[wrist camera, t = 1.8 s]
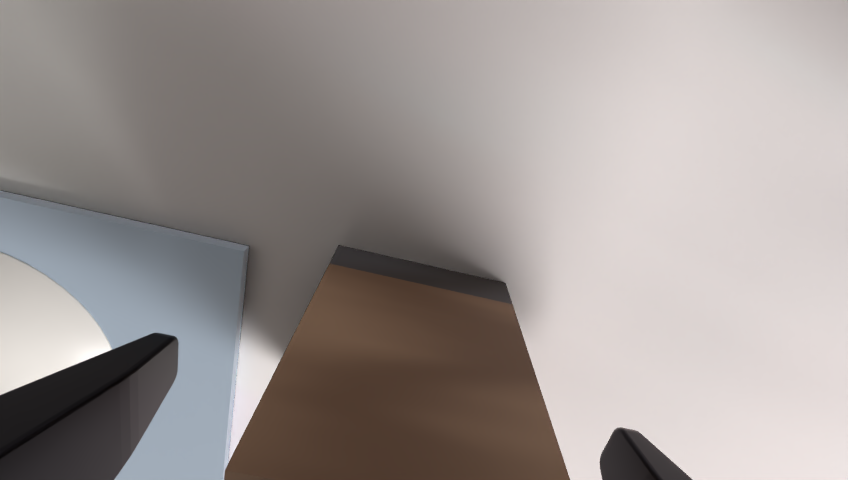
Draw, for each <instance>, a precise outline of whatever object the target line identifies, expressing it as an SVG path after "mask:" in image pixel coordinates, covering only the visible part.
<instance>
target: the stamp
mask: <svg viewBox="0 0 848 480" xmlns="http://www.w3.org/2000/svg"><path fill="white" fill-rule="evenodd" d="M224 480H570V478H569V475H568V472H567V469H566V466H565V463H564V460H563V457H562V454H561V451H560V448H559V445H558V442H557V439H556V436H555V433H554V430H553V427H552V424H551V420H550V417H549V414H548V411H547V408H546V405H545V402H544V399H543V396H542V393H541V390H540V387H539V384H538V381H537V378H536V375H535V372H534V369H533V366H532V363H531V360H530V357H529V354H528V350H527V347H526V344H525V341H524V338H523V335H522V332H521V329H520V326H519V323H518V320H517V317H516V314H515V311H514V308H513V305H512V302H511V299H510V296H509V293H508V290H507V287H506V284H505V283H503V282H499V281H495V280H490V279H486V278H481V277H477V276H472V275H468V274H464V273H459V272H455V271H450V270H446V269H442V268H437V267H433V266H428V265H424V264H419V263H415V262H411V261H406V260H402V259H397V258H393V257H389V256H384V255H380V254H375V253H371V252H366V251H362V250H358V249H353V248H349V247H344V246H340V245H339V246H338V248H337V250H336V252H335V254H334V256H333V258H332V260H331V262H330V264H329V266H328V268H327V270H326V271H325V273H324V275H323V277H322V279H321V281H320V283H319V285H318V287H317V289H316V291H315V293H314V295H313V297H312V299H311V301H310V303H309V305H308V307H307V309H306V311H305V313H304V315H303V317H302V319H301V321H300V323H299V325H298V327H297V329H296V331H295V333H294V335H293V337H292V339H291V341H290V343H289V345H288V347H287V349H286V351H285V353H284V355H283V357H282V358H281V360H280V362H279V364H278V366H277V368H276V370H275V372H274V374H273V376H272V378H271V380H270V382H269V384H268V386H267V388H266V390H265V392H264V394H263V396H262V398H261V400H260V402H259V404H258V406H257V408H256V410H255V412H254V414H253V416H252V418H251V420H250V422H249V424H248V426H247V428H246V430H245V432H244V434H243V436H242V438H241V440H240V442H239V444H238V445H237V447H236V449H235V451H234V453H233V455H232V457H231V459H230V461H229V463H228V465H227V467H226V469H225V475H224Z"/></svg>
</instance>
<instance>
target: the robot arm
mask: <svg viewBox="0 0 848 480" xmlns="http://www.w3.org/2000/svg"><path fill="white" fill-rule="evenodd" d="M178 348H179V343H178V339H177V337H175V336H172V335H168V334H163V333H152V334H149V335H147V336H144V337H142V338H139V339H137V340H134V341H132V342H129V343H127V344H124V345H122V346H120V347H117V348H115V349H112V350H110V351H107V352H105V353H102V354H100V355H97V356H95V357H92V358H90V359H87V360H85V361H83V362H80V363H78V364H75V365H73V366H70V367H68V368H65V369H63V370H60V371H58V372H55V373H53V374H51V375H48V376H46V377H43V378H41V379H38V380H36V381H33V382H31V383H28V384H26V385H23V386H21V387H18V388H16V389H14V390H11V391H9V392H6V393H4V394H1V395H0V480H114V479H115V478H116V477H117V475H118V474H119V472H120V471H121V470H122V468H123V467H124V465H125V464H126V462H127V461H128V460H129V458H130V457H131V455H132V453H133V452H134V450H135V449H136V447H137V445H138V444H139V442H140V440H141V438H142V437H143V435H144V433H145V432H146V430H147V428H148V426H149V425H150V423H151V421H152V419H153V418H154V416H155V414H156V412H157V411H158V409H159V407H160V406H161V404H162V402H163V400H164V399H165V397H166V395H167V393H168V392H169V390H170V388H171V386H172V385H173V383H174V381H175V379H176V376H177V372H178ZM600 470H601V475H602V480H692V479H691V478H690V477H689V476H688V475H687V474H686V473H684V472H683V471H682V470H681V469H680V468H679V467H678V466H677V465H675V464H674V463H673V462H672V461H671V460H670V459H669V458H668V457H666V456H665V455H664V454H663V453H662V452H661V451H660V450H659V449H657V448H656V447H655V446H654V445H653V444H652V443H651V442H650V441H648V440H647V439H646V438H645V437H644V436H643V435H642V434H641V433H639V432H638V431H635V430H631V429H626V428H617V429H615V430H614V432H613V433H612V435H611V437H610V439H609V441H608V443H607V445H606V446H605V448H604V450H603V452H602V454H601V457H600Z"/></svg>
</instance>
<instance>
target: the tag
mask: <svg viewBox="0 0 848 480" xmlns="http://www.w3.org/2000/svg"><path fill="white" fill-rule="evenodd" d="M248 252H249V246H247V245H242V244H238V243H233V242H229V241H224V240H220V239H215V238H211V237H206V236H202V235H197V234H193V233H188V232H184V231H179V230H175V229H170V228H166V227H161V226H157V225H152V224H148V223H143V222H139V221H135V220H130V219H126V218H121V217H117V216H112V215H108V214H103V213H99V212H94V211H90V210H85V209H81V208H76V207H72V206H67V205H63V204H58V203H54V202H49V201H45V200H40V199H36V198H31V197H27V196H22V195H18V194H13V193H9V192H5V191H0V395H1V394H4V393H6V392H9V391H11V390H14V389H16V388H18V387H21V386H23V385H26V384H28V383H31V382H33V381H36V380H38V379H41V378H43V377H46V376H48V375H51V374H53V373H55V372H58V371H60V370H63V369H65V368H68V367H70V366H73V365H75V364H78V363H80V362H83V361H85V360H87V359H90V358H92V357H95V356H97V355H100V354H102V353H105V352H107V351H110V350H112V349H115V348H117V347H120V346H122V345H124V344H127V343H129V342H132V341H134V340H137V339H139V338H142V337H144V336H147V335H149V334H152V333H163V334H168V335H172V336H175V337H177V339H178V343H179V348H178V372H177V376H176V379H175V381H174V383H173V385H172V386H171V388H170V390H169V392H168V393H167V395H166V397H165V399H164V400H163V402H162V404H161V406H160V407H159V409H158V411H157V412H156V414H155V416H154V418H153V419H152V421H151V423H150V425H149V426H148V428H147V430H146V432H145V433H144V435H143V437H142V438H141V440H140V442H139V444H138V445H137V447H136V449H135V450H134V452H133V453H132V455H131V457H130V458H129V460H128V461H127V462H126V464H125V465H124V467H123V468H122V470H121V471H120V472H119V474H118V475H117V477H116V478H115V479H114V480H224V475H225V469H226V467H227V465H228V458H229V448H230V437H231V427H232V417H233V407H234V396H235V386H236V376H237V365H238V355H239V345H240V334H241V324H242V314H243V304H244V293H245V283H246V273H247V262H248Z"/></svg>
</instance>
